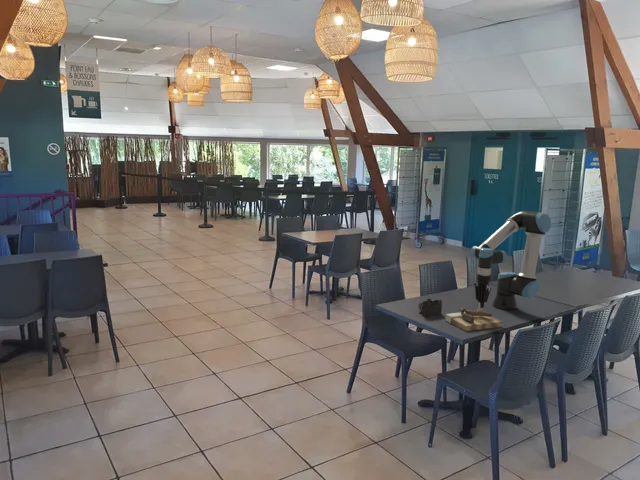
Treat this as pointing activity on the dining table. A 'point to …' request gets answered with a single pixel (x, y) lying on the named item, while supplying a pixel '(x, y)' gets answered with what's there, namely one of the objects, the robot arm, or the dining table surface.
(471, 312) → the swing bar
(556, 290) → the dining table surface
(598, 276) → the dining table surface
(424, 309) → the camera
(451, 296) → the dining table surface
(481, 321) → the door slab
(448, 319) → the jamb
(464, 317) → the bar
